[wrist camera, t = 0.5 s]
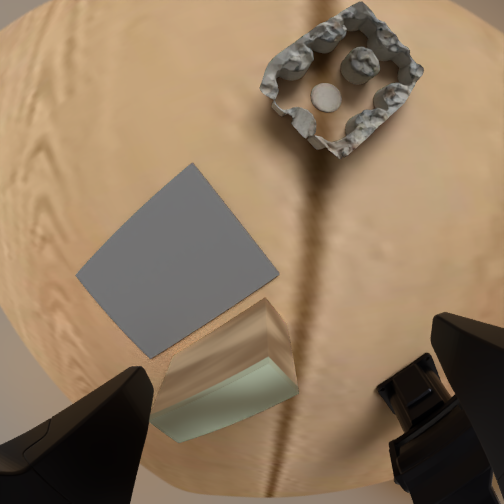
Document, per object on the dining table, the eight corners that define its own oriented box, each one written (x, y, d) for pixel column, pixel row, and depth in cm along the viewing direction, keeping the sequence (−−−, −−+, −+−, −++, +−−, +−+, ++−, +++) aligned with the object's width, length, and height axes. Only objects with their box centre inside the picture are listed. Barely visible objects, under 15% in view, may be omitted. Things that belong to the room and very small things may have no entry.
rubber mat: (279, 272, 21) (279, 274, 21) (151, 357, 24) (150, 359, 23) (192, 162, 19) (191, 162, 18) (76, 274, 21) (75, 275, 21)
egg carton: (323, 167, 19) (340, 168, 15) (249, 90, 17) (247, 73, 14) (414, 86, 17) (442, 75, 13) (349, 16, 15) (365, -7, 11)
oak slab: (287, 323, 22) (299, 393, 15) (196, 376, 24) (178, 443, 17) (265, 296, 22) (268, 363, 14) (173, 355, 24) (147, 420, 16)
